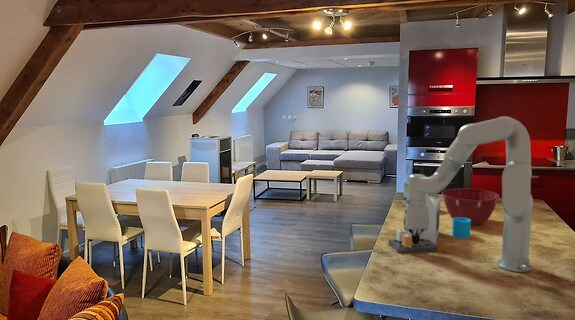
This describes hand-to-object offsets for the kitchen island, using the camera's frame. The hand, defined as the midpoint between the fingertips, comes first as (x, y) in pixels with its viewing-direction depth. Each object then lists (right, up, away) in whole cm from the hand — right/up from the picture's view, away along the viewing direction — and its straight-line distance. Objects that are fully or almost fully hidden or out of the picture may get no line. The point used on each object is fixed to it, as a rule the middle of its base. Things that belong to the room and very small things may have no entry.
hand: (415, 243), depth 203 cm
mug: (+29, 0, +23) cm, 37 cm away
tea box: (+23, +7, +78) cm, 81 cm away
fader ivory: (-5, 0, +7) cm, 9 cm away
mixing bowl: (+41, +3, +46) cm, 62 cm away
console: (0, -3, +4) cm, 5 cm away
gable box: (+9, -1, +20) cm, 22 cm away
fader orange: (-4, -1, 0) cm, 4 cm away
